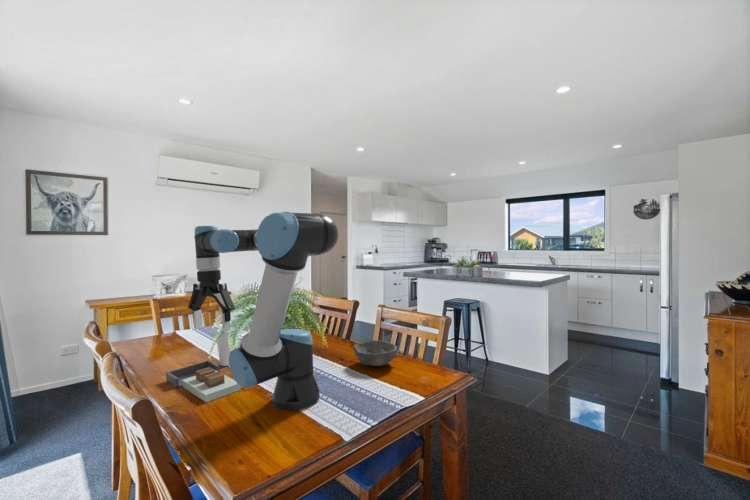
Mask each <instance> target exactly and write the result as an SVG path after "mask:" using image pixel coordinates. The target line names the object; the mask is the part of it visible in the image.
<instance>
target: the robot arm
mask: <svg viewBox="0 0 750 500" xmlns="http://www.w3.org/2000/svg"><path fill="white" fill-rule="evenodd" d="M193 237H194V246H195V247H194V248H195V263H196V264H195V265H196V270H198V271H197V272H196V274H197V275H196V277H197V278H196V279H197V280H196V281H197V283H196V282H195V283H193V285H192V286H193V287H192V292H191V296H190V300H189V303H188V306H187V307H188V309H189V310H191V311H192V313H193V320H194V323H193V324H194V330H200V329H203V328H204V325H203V324H204V323H203V310H202V306H203V304H204V302H205V301H206V299H207V297H209V298H211V297H212V299H214V300H215V301H216V303H217V304H218V306H219V307H220V308H221V310H222V311H221V325H222V326H221V327H222V328H221V329H222V331H223V332H225V331H229V330H230V328H231V321H232V320H231V317H232V316H231V312H232V311H234V310H236V307H235V306H236V305H234V301H233V300H232V297H231V295H230V293H229V292H230V291H228V286H227V283H226V282H223V283H220V280H221V279H222V277H221V276H222V273H221V270H220V269H221V260H220V259H221V258H220V253H222V254H227V253H236V252H239V253H240V252H252V251H253V252H255V251H258V253H259V254H260V256H261V260H262V261H263V263H264V264H265V267H264V271H263V275H262V279H261V282H260V287H259V291H258V295H257V299H256V304H255V306H254V307H255V308H254V311H253V316H252V319H251V324H250V328H249V332H247V333H245V335H243V337H242V338H241V341H240V344H239V346H240V347H235V348H233V350H232V351H231V352H230V354H229V369H230V373H231V375H232V377H233V378H232V379H233V380H235V381H236V382H237V384H238V385H240V388H245V389H247V388H251V387H255V386H257V385H259V384H262V383H263V384H264V383H265V382H268V381H270V380H273V379H275V378H276V383H275V386H274V389H273V394H272V405H273V407H274V408H276V409H279V410H281V411H299V410H304V409H307V408H311V406H314V405H315V404H316V403H318V402H319V400H320V389H319V387H318V383H317V381H316V378H315V376H314V354H313V353H314V352H313V351H314V350H313V349H314V348H313V345H314V343H313V337H312V334H311V332H310V331H307V330H305V329H300V328H299V329H298V328H284V329H283V326H284V322H285V318H286V315H287V311H288V307H289V303H290V300H291V297H292V293H293V289H294V286H295V282H296V279H297V275H298V273H299V272H300V271H303V270H304V269H305V267H306V264H307V261H308V258H309V257H310V256H311V257H312V256H321V255H325V254H327V253H329V252H330V251H332V249H334V248H335V246H336V245H337V243H338V239H339V230H338V227H337V224H336V222H334V220H333V219H332V218H330V217H329V216H327V215H325V214H322V213H317V212H316V213H309V212H307V213H306V212H290V211H282V212H272V213H270V214H269V215H267V216H265V217H264V218H262V220H261V221H260V224H259V225H258V228H257V229H227V228H225V229H223V228H222V229H218V227H217V226H216V225H199V226H198V225H197V226H196V227H195V228H194V235H193Z"/></svg>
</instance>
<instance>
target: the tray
mask: <svg viewBox="0 0 750 500" xmlns="http://www.w3.org/2000/svg"><path fill="white" fill-rule="evenodd" d="M208 367H210V368H212V369H214V370H216V371H218V372H220V373H221V365H220V364H219V365H218V364H216V363H214V362H212V361H211V360H209V359H208V360H205V361H201V362H199V363H195V364H191V365H187V366H184V367H180V368H177V369H173V370H170V371H166V372H165V376H166V377H165V378H166V380H165V381H166V382H167V383H168V384H169V385H171V386H172V387H174V388H175V389H179V388H183V387H182V380H183V379H187V378H190V377H193V376H196V371H198V370H201V369H205V368H208Z"/></svg>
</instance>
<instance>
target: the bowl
mask: <svg viewBox="0 0 750 500" xmlns="http://www.w3.org/2000/svg"><path fill="white" fill-rule="evenodd" d="M353 351H354V355H355V357H356V358H357V359H358V361H359V362H360V363H361V365H364V366H371V367H373V366H374V367H382V366H385V365H388V364H390V363H391V362H392V361H393V360H394V359H395V357H396V355H397V351H398V347H397V345H395V344H394V343H392V342H390V341H386V340H370V341H364V342H359V343H355V344H354V345H353Z"/></svg>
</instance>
